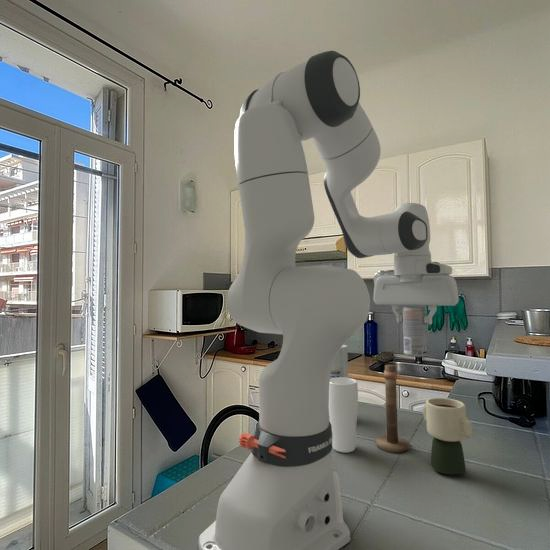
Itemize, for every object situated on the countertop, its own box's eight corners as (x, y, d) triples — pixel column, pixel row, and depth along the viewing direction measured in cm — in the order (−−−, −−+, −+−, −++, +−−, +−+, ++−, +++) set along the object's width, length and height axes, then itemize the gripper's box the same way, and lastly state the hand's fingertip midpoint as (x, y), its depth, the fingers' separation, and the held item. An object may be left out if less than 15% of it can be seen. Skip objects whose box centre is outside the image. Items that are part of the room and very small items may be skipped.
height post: (402, 456, 74) (399, 370, 75) (371, 447, 79) (369, 366, 80) (413, 445, 80) (411, 365, 81) (384, 437, 84) (381, 361, 85)
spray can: (321, 419, 97) (320, 346, 98) (332, 412, 102) (330, 343, 103) (342, 423, 93) (341, 348, 94) (353, 416, 98) (351, 345, 100)
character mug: (486, 479, 65) (483, 408, 65) (460, 488, 62) (456, 413, 63) (438, 455, 75) (435, 393, 75) (412, 461, 72) (410, 397, 73)
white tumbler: (357, 457, 74) (355, 385, 75) (325, 452, 76) (324, 383, 77) (360, 444, 81) (359, 378, 81) (331, 440, 83) (330, 376, 84)
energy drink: (422, 353, 90) (421, 306, 91) (430, 357, 85) (428, 307, 85) (401, 353, 90) (399, 306, 91) (407, 357, 85) (405, 307, 86)
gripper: (368, 270, 93) (369, 322, 92) (452, 265, 80) (454, 326, 79) (378, 271, 98) (379, 321, 97) (459, 267, 85) (461, 324, 84)
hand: (414, 323), depth 88 cm, fingers closed on energy drink, 5 cm apart
